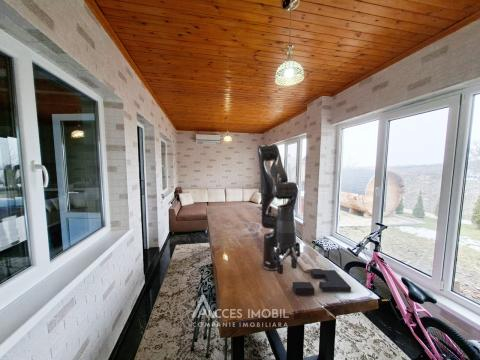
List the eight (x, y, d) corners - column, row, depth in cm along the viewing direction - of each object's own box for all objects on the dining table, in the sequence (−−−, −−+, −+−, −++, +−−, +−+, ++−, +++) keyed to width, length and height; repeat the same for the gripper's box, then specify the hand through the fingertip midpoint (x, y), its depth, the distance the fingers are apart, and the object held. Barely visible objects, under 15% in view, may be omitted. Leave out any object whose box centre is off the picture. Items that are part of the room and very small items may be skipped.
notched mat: (310, 274, 111) (310, 269, 111) (334, 274, 111) (334, 270, 111) (323, 291, 95) (323, 286, 95) (350, 291, 95) (351, 287, 95)
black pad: (292, 288, 97) (292, 281, 97) (310, 288, 98) (310, 281, 97) (295, 294, 92) (295, 287, 92) (314, 295, 93) (314, 288, 92)
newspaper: (324, 271, 114) (324, 267, 114) (304, 274, 113) (304, 270, 113) (308, 254, 137) (308, 250, 136) (291, 256, 136) (291, 252, 136)
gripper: (290, 227, 86) (291, 264, 85) (267, 231, 78) (268, 272, 77) (304, 229, 80) (305, 269, 79) (281, 234, 72) (282, 279, 71)
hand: (287, 270), depth 78 cm, fingers open, 8 cm apart
